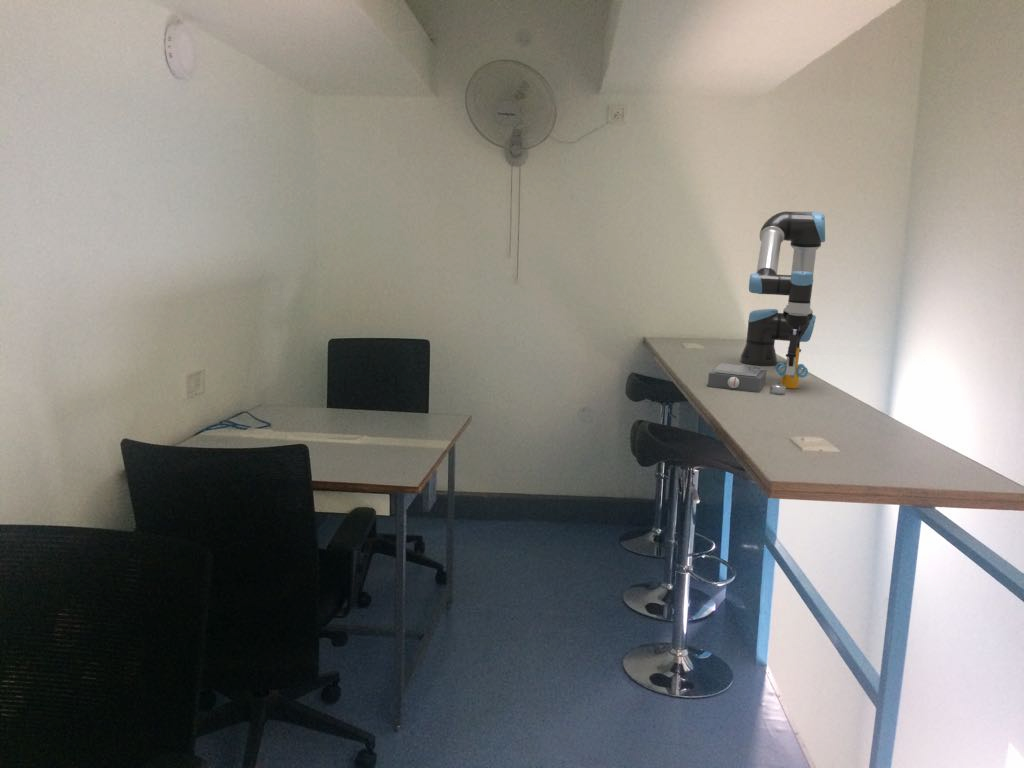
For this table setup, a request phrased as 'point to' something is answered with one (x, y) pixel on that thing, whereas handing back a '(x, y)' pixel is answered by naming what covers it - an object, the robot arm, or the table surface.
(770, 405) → the table surface
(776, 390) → the cylinder
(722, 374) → the base
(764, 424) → the table surface
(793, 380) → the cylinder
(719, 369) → the pan
